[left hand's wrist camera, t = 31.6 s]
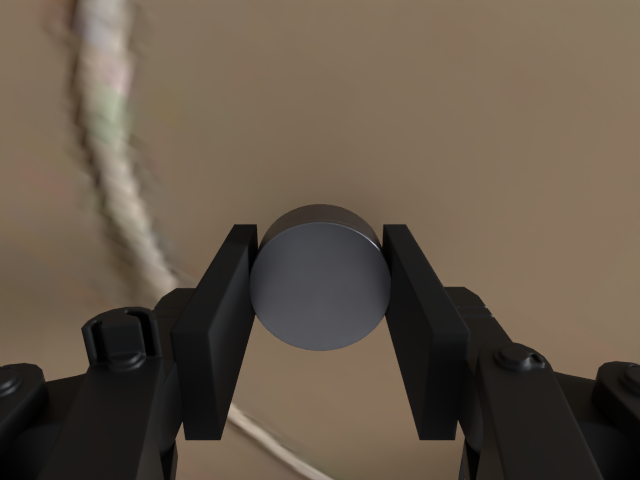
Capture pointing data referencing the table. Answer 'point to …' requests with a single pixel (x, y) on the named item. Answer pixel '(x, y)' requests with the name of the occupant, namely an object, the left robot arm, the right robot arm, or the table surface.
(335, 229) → the cap
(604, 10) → the table surface
